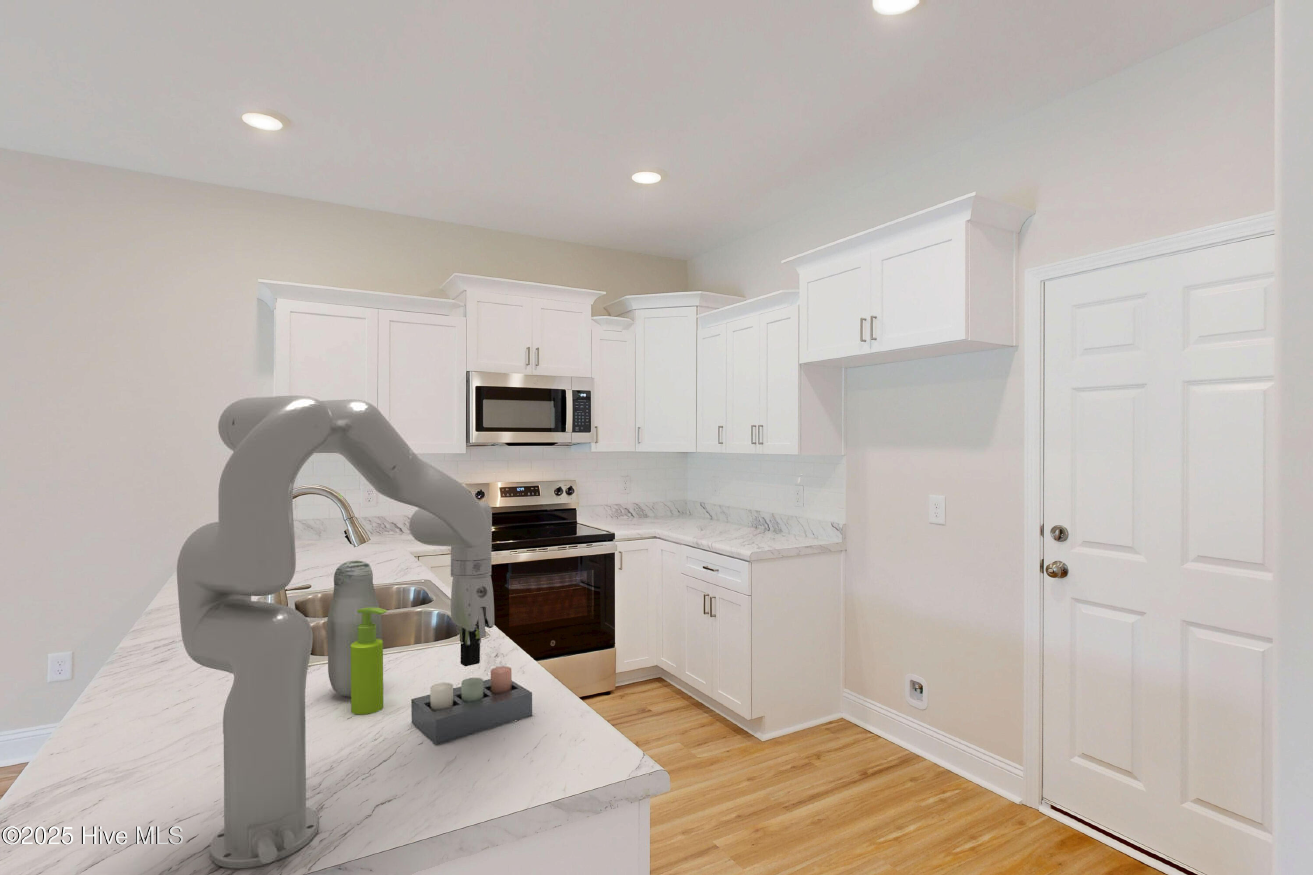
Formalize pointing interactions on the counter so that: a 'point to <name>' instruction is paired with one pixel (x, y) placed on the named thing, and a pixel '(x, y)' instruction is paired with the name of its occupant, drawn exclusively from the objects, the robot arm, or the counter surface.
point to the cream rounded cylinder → (441, 696)
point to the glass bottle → (348, 619)
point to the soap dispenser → (367, 666)
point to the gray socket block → (470, 713)
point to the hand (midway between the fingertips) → (470, 663)
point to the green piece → (472, 689)
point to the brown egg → (501, 680)
